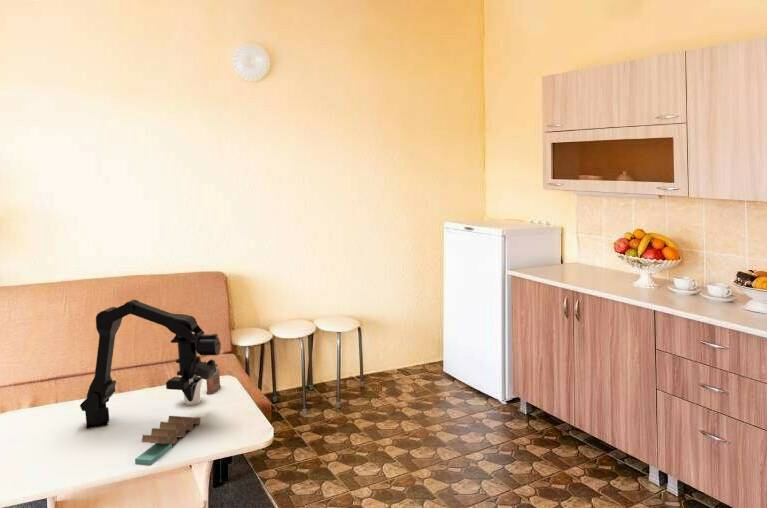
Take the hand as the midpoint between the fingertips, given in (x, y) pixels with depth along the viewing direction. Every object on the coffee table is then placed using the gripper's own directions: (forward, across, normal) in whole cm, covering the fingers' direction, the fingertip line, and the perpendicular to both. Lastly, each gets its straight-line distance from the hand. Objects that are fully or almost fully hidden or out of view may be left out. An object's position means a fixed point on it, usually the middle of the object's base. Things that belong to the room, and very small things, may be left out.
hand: (190, 400), depth 199 cm
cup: (+8, +17, +9) cm, 21 cm away
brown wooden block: (+7, -9, 0) cm, 11 cm away
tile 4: (+7, -14, 0) cm, 16 cm away
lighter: (+8, +30, +7) cm, 32 cm away
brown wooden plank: (+7, -4, 0) cm, 8 cm away
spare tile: (+8, -17, 0) cm, 19 cm away
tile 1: (+7, +1, 0) cm, 7 cm away
